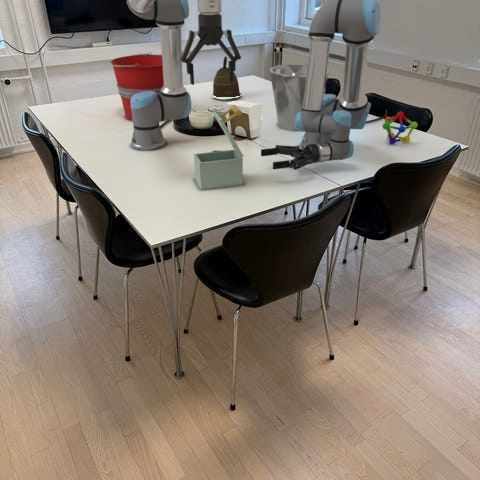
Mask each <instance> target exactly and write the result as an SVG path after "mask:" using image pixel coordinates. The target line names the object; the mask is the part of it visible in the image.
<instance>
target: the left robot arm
mask: <svg viewBox="0 0 480 480" xmlns="http://www.w3.org/2000/svg"><path fill="white" fill-rule="evenodd" d="M126 4H127V6H128V8H129V10H130V11H131V13H133V15H135V16H137V17H138V18H140V19H142V20H143V19H144V20H149V21H150V20H155V24H156V25H157V26H158V27H159V31H160V33H159V34H160V47H161V55H162V66H163V83H164V86H163V87H162V88H161V94H159V95H157V94H156V92H154V91H145V92H140V93H137V94H135V95H133V96H132V98H131V110H132V118H133V121H132V125H133V132H132V135H131V139H130V140H131V142H130V143H131V147H132V148H134V149H135V150H141V151H151V150H153V151H154V150H157V149H161V148H163V147H164V146H165V144H166V140H165V137H164V135H163V132H162V130H161V128H162V127H164V126H165V125H166V124H168V123H169V122H170V121H175V120H182V119H187V118H188V117H189V116H190V114H191V111H192V96H191V94H190V92H188V91H187V88H186V87H185V86H184V77H183V75H184V73H183V63H185V64H186V66H185V67H186V73H187V74H188V75H189V81H190V82H189V83H190V85H192V86H194V85H195V72H194V64H193V61H194V59H195V58H196V57H197V55H198V54H199V52H200V51H201V50H202V48H203V47H204V46H207V47H209V46H217V45H219V46H218V47H219V48H221V50H222V51H223V52H224V54H226V57H227V58H228V59H230V60H227V63H228V68H229V81H230V82H233V72H236V69H237V68H236V63H237V61H238V60H239V61H240V60H241V59H242V55H241V54H240V51H239V49H238V47H237V45H236V43H235V41H234V38H233V32H232V30H231V29H229V28H227V29H225V30H223V19H222V18H223V16H222V14H221V12H222V0H197V12H198V13H199V14H198V15H197V21H198V25H197V26H198V30H197V31H195V30H191V29H190V30H189V31H188V39H187V40H186V44H185V46H184V49H183V50H182V48H183V47H182V28H183V26H184V25H185V19H188V18H189V16H190V4H189V0H126ZM223 36H224V37H225V38H226V40H227V41H228V44H229V46H230V48H231V50H232V52H233V53H232V52H231V51H230V49H228V47H227V46H226V45H225V43H224V41H223V40H222V38H223ZM197 37H198V38H199V40H198V41H197V43H196V45H195V46H194V48H193V49H192V50H191V48H192V45H193V43H194V40H195V39H196V38H197ZM190 51H191V52H190ZM189 53H190V54H189ZM233 54H234V55H233ZM160 122H164V123H162V124H161V125H160Z"/></svg>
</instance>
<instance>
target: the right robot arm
mask: <svg viewBox="0 0 480 480" xmlns="http://www.w3.org/2000/svg"><path fill="white" fill-rule="evenodd" d="M381 16H382V15H381V5H380V2H379V1H378V0H327V1H325V2H324V3H323V4H322V5H321V6H320V7H319V8H318V10H317V11H316V13H315V14H314V17H313V18H312V20H311V22H310V25H309V30H308V39H309V41H310V42H309V43H310V44H309V52H308V60H307V65H308V67H307V75H306V83H305V91H304V99H303V107H302V112H298V113H297V115H296V119H295V128H296V129H297V130H296V131H299V132H300V131H301V132H304V134H303V135H301V142H300V143H301V144H300V145H282V144H275V147H271V148H270V147H269V148H262V149H260V157H269V156H277V155H284V156H289V157H291V158H293V159H290V160H278V161H272V170H281V169H288V168H290V169H292V170H293V171H296V170H299V169H301V168H304V167H305V166H307V165H312V164H316V163H324V162H332V161H341V160H346V159H350V158H352V156H354V153H355V148H354V147H355V145H354V143H353V141H352V140H351V139H350V135H351V130H363V129H364V128H365V126H366V124H368V123H372V122H376V121H379V120H382V119H385V118H386V117H387V115H388V109H385V110H384V112H385V114H384V115H382V116H380V117H377V118H374V119H369V120H368V116H369V113H370V110H371V106H372V103H371V102H369V101H368V97H367V95H366V94H365V91H366V80H367V70H368V60H369V51H370V43H371V42H372V41H373V40H374V39H375V36H377V35H378V34H379V31H380V26H381ZM336 34H342V35H341V36H342V37H341V38H342V41H343V42H344V43H345V55H344V75H343V77H344V78H343V91H342V92H343V93H342V95H341V96H340V97H339V99H337V95H336V94H332V93H325V94H324V86H325V87H326V85H325V79H326V72H327V69H328V63H329V57H330V51H331V43H332V42H333V41H334V40H335V35H336ZM300 146H301V148H300Z"/></svg>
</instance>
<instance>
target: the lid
mask: <svg viewBox="0 0 480 480" xmlns="http://www.w3.org/2000/svg"><path fill="white" fill-rule="evenodd" d="M231 112H233V114H232V115H230V116H229V117H227V118H226V119H224V120H223V117H224V116H227V115H228V114H230V113H231ZM212 114H213V116H214V118H215V120H216V121H217V123H218V125H219V126H220V128H221V130H222V131H223V133H224V134H225V136H226V138H227V140H228V142H229V143H230V145H231V146H232V148H233V150H235V151H236V152H237V153H238V154H239V155H240V157H241V158H244V157H245V156H244V154H243V152H242V150H241V149H240V147H239V145H238V144H237V142H236V140H235V138H234V137H233V136H232V134H231V132H230V130H229V128H228V127H227V125H226V123H228V122H229V121H230V120H232V119H234V118H235V117H236V116H238V117H240V116H241V115H242V110H241V109H240V108H239V107H237V105H235V104H231V106H230V108H229V109H227V110H226V111H224V112H223V113H222V114H220V115H219V114H218V113H217V112H216V111H213V112H212Z"/></svg>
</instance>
